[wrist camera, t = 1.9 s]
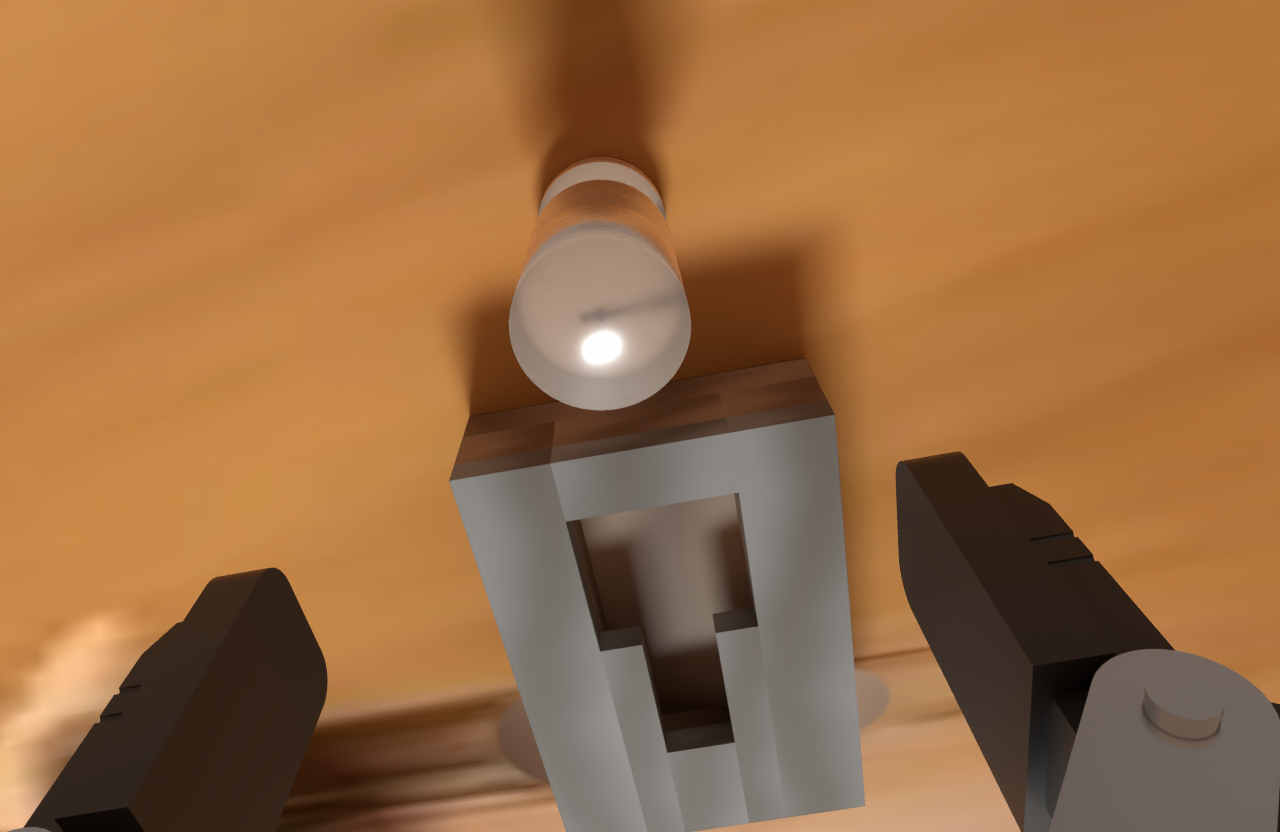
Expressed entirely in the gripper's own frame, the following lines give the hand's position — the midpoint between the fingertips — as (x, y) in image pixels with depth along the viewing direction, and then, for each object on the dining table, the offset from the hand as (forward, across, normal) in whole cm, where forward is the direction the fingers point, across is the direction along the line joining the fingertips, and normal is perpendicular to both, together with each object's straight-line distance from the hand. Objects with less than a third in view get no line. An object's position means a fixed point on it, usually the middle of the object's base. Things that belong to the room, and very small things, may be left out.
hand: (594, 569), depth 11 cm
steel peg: (+18, 0, 0) cm, 18 cm away
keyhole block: (+18, 0, +15) cm, 23 cm away
